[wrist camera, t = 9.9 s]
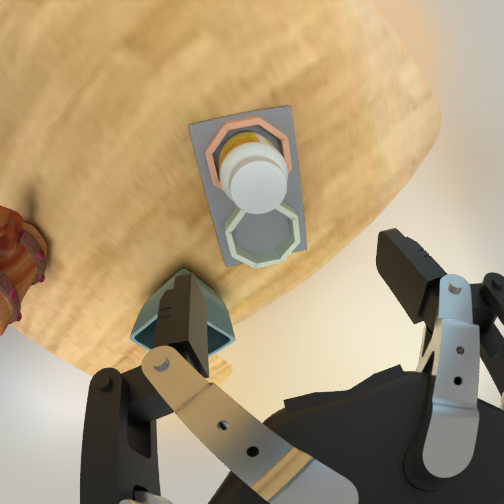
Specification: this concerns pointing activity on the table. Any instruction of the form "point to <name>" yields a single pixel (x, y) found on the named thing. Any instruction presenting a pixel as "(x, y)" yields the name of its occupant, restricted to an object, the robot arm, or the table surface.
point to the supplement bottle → (252, 172)
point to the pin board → (222, 204)
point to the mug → (18, 263)
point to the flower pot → (217, 318)
